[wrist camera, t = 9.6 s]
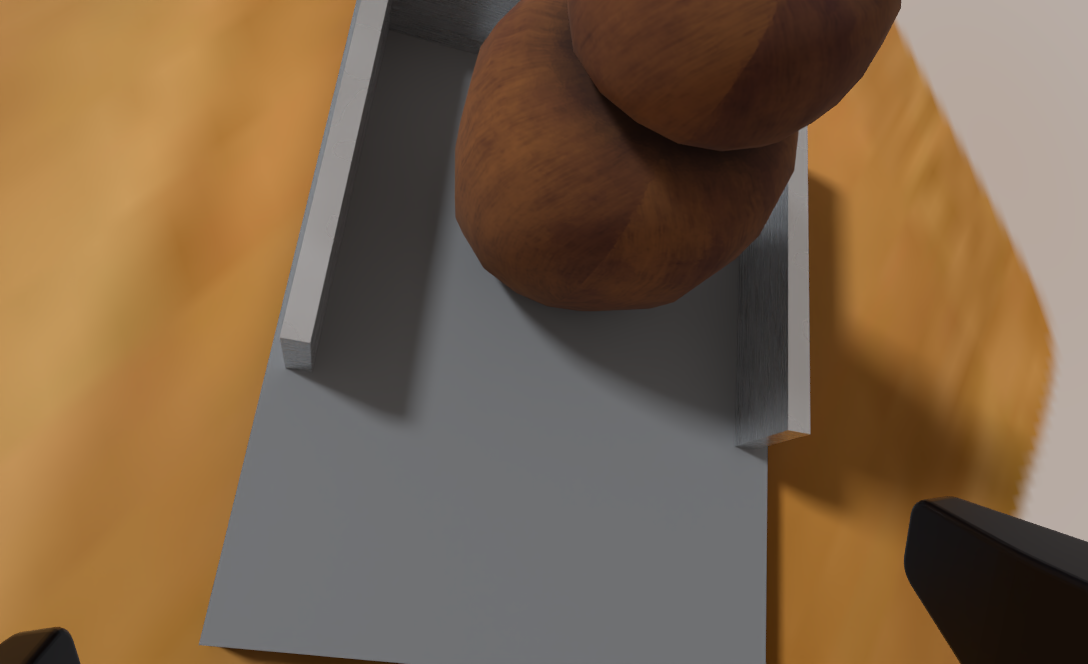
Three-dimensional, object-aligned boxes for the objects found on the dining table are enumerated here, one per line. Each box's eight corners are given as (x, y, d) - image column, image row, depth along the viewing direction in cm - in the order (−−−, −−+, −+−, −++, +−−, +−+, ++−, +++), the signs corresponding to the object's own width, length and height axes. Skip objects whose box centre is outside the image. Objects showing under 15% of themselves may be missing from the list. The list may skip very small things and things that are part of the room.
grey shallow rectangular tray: (744, 690, 19) (829, 714, 16) (206, 640, 16) (177, 659, 13) (754, 127, 25) (818, 61, 21) (357, 15, 22) (363, -81, 18)
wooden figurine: (681, 183, 22) (1288, -469, 8) (656, 366, 20) (1406, -88, 6) (459, 109, 21) (735, -821, 7) (407, 298, 19) (653, -481, 5)
